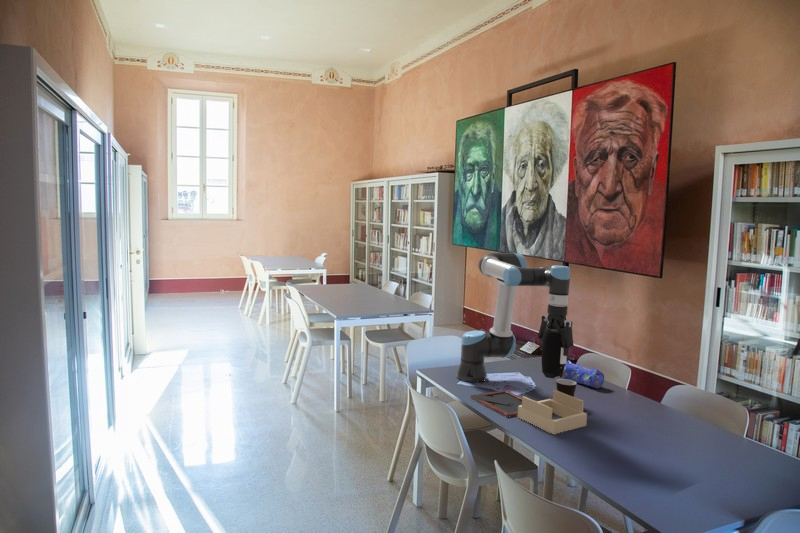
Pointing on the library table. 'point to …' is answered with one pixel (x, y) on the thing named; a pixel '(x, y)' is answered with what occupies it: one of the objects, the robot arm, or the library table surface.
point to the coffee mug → (566, 386)
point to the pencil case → (583, 375)
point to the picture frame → (500, 402)
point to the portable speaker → (552, 353)
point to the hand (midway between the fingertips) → (553, 360)
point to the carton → (560, 405)
